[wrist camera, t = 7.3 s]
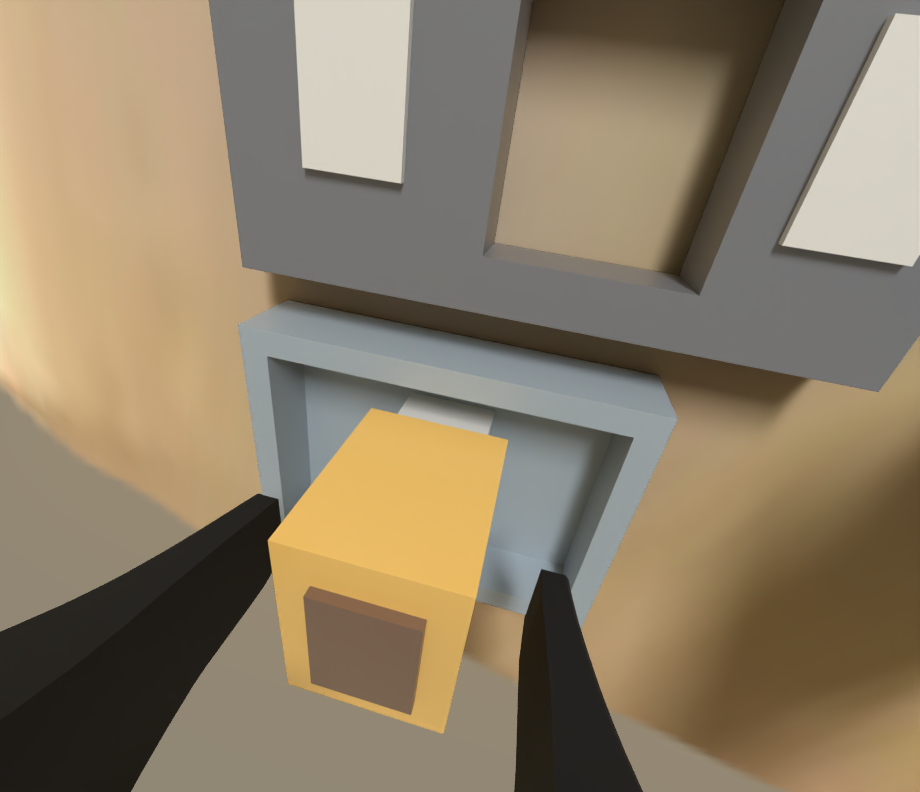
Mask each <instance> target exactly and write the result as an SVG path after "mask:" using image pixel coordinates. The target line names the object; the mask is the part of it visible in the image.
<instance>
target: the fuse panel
mask: <svg viewBox="0 0 920 792" xmlns="http://www.w3.org/2000/svg"><path fill="white" fill-rule="evenodd" d="M209 6H210V14H211V22H212V30H213V38H214V46H215V54H216V61H217V69H218V77H219V85H220V93H221V101H222V109H223V117H224V124H225V132H226V140H227V148H228V156H229V164H230V172H231V179H232V187H233V195H234V203H235V211H236V219H237V227H238V234H239V242H240V250H241V258H242V266H243V267H245V268H250V269H255V270H260V271H265V272H270V273H275V274H280V275H285V276H290V277H295V278H301V279H306V280H311V281H316V282H321V283H326V284H331V285H336V286H341V287H346V288H351V289H357V290H362V291H367V292H372V293H377V294H382V295H387V296H392V297H397V298H402V299H407V300H412V301H418V302H423V303H428V304H433V305H438V306H443V307H448V308H453V309H458V310H463V311H468V312H474V313H479V314H484V315H489V316H494V317H499V318H504V319H509V320H514V321H519V322H524V323H530V324H535V325H540V326H545V327H550V328H555V329H560V330H565V331H570V332H575V333H580V334H586V335H591V336H596V337H601V338H606V339H611V340H616V341H621V342H626V343H631V344H636V345H641V346H647V347H652V348H657V349H662V350H667V351H672V352H677V353H682V354H687V355H692V356H697V357H703V358H708V359H713V360H718V361H723V362H728V363H733V364H738V365H743V366H748V367H753V368H759V369H764V370H769V371H774V372H779V373H784V374H789V375H794V376H799V377H804V378H809V379H814V380H820V381H825V382H830V383H835V384H840V385H845V386H850V387H855V388H860V389H865V390H870V391H876V392H879V391H880V389H881V388H882V387H883V385H884V384H885V382H886V381H887V380H888V378H889V377H890V375H891V374H892V373H893V371H894V370H895V368H896V367H897V366H898V364H899V363H900V362H901V360H902V359H903V357H904V356H905V355H906V353H907V352H908V350H909V349H910V348H911V346H912V345H913V343H914V342H915V341H916V339H917V338H918V337H919V335H920V0H785V2H784V4H783V7H782V10H781V12H780V15H779V17H778V20H777V23H776V25H775V28H774V30H773V33H772V36H771V38H770V41H769V43H768V46H767V49H766V51H765V54H764V56H763V59H762V61H761V64H760V67H759V69H758V72H757V74H756V77H755V80H754V82H753V85H752V87H751V90H750V93H749V95H748V98H747V100H746V103H745V106H744V108H743V111H742V113H741V116H740V118H739V121H738V124H737V126H736V129H735V131H734V134H733V137H732V139H731V142H730V144H729V147H728V150H727V152H726V155H725V157H724V160H723V163H722V165H721V168H720V170H719V173H718V176H717V178H716V181H715V183H714V186H713V188H712V191H711V194H710V196H709V199H708V201H707V204H706V207H705V209H704V212H703V214H702V217H701V220H700V222H699V225H698V227H697V230H696V233H695V235H694V238H693V240H692V243H691V245H690V248H689V251H688V253H687V256H686V258H685V261H684V264H683V266H682V269H681V271H680V274H679V275H674V274H668V273H663V272H657V271H651V270H646V269H640V268H634V267H628V266H623V265H617V264H611V263H606V262H600V261H594V260H588V259H583V258H577V257H571V256H566V255H560V254H554V253H549V252H543V251H537V250H531V249H526V248H520V247H514V246H509V245H503V244H497V243H494V241H495V235H496V229H497V223H498V216H499V210H500V204H501V198H502V192H503V185H504V179H505V173H506V167H507V161H508V155H509V148H510V142H511V136H512V130H513V124H514V118H515V111H516V105H517V99H518V93H519V87H520V80H521V74H522V68H523V62H524V56H525V50H526V43H527V37H528V31H529V25H530V19H531V12H532V6H533V0H209Z"/></svg>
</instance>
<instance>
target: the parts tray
mask: <svg viewBox="0 0 920 792" xmlns="http://www.w3.org/2000/svg"><path fill="white" fill-rule="evenodd" d="M238 328H239V335H240V342H241V349H242V356H243V363H244V370H245V377H246V384H247V391H248V399H249V406H250V413H251V420H252V427H253V434H254V441H255V448H256V455H257V462H258V469H259V476H260V483H261V490H262V495H265V496H269V497H273V498H277V499H278V500H279V508H280V517H281V523H282V521H283V520H284V519H285V518H286V516H287V515H288V514H289V513H290V511H291V510H292V509H293V507H294V506H295V505H296V504H297V502H298V501H299V500H300V499H301V497H302V496H303V495H304V493H305V492H306V491H307V490H308V488H309V487H310V486H311V485H312V483H313V482H314V481H315V479H316V478H317V477H318V476H319V474H320V473H321V472H322V470H323V469H324V468H325V467H326V465H327V464H328V463H329V462H330V460H331V459H332V458H333V456H334V455H335V454H336V453H337V451H338V450H339V449H340V448H341V446H342V445H343V444H344V442H345V441H346V440H347V439H348V437H349V436H350V435H351V434H352V432H353V431H354V430H355V428H356V427H357V426H358V425H359V423H360V422H361V421H362V420H363V418H364V417H365V416H366V414H367V413H368V412H369V411H370V409H371V408H374V409H378V410H382V411H387V412H391V413H395V414H398V412H399V411H400V409H401V408H402V406H403V405H404V403H405V402H406V400H407V399H408V397H409V396H410V394H411V393H412V392H413V393H417V394H422V395H426V396H431V397H435V398H440V399H444V400H449V401H453V402H457V403H462V404H466V405H471V406H475V407H480V408H484V409H488V410H493V411H495V412H494V417H493V422H492V427H491V432H490V436H494V437H498V438H503V439H507V440H508V444H507V448H506V453H505V458H504V463H503V468H502V473H501V478H500V483H499V488H498V493H497V498H496V503H495V508H494V512H493V517H492V522H491V527H490V532H489V537H488V542H487V547H486V552H485V557H484V562H483V567H482V571H481V576H480V581H479V586H478V591H477V596H476V601H478V602H481V603H485V604H488V605H492V606H495V607H499V608H503V609H506V610H510V611H513V612H517V613H520V614H524V615H526V612H527V609H528V606H529V603H530V600H531V597H532V595H533V592H534V589H535V586H536V583H537V580H538V577H539V574H540V571H541V569H544V570H548V571H551V572H555V573H559V574H563V575H566V577H567V578H568V579H569V584H570V589H571V593H572V598H573V602H574V606H575V610H576V614H577V618H578V621H579V625H580V628H581V627H582V625H583V623H584V621H585V619H586V616H587V614H588V612H589V610H590V608H591V606H592V603H593V601H594V599H595V597H596V595H597V593H598V590H599V588H600V586H601V584H602V582H603V580H604V577H605V575H606V573H607V571H608V569H609V567H610V565H611V562H612V560H613V558H614V556H615V554H616V552H617V549H618V547H619V545H620V543H621V541H622V539H623V536H624V534H625V532H626V530H627V528H628V526H629V524H630V521H631V519H632V517H633V515H634V513H635V511H636V508H637V506H638V504H639V502H640V500H641V498H642V495H643V493H644V491H645V489H646V487H647V485H648V482H649V480H650V478H651V476H652V474H653V472H654V470H655V467H656V465H657V463H658V461H659V459H660V457H661V454H662V452H663V450H664V448H665V446H666V444H667V441H668V439H669V437H670V435H671V433H672V431H673V428H674V426H675V424H676V422H677V420H678V418H677V416H676V414H675V411H674V409H673V407H672V405H671V402H670V400H669V398H668V395H667V393H666V391H665V389H664V386H663V384H662V382H661V380H660V377H659V376H658V375H653V374H648V373H643V372H639V371H634V370H629V369H624V368H619V367H614V366H609V365H604V364H599V363H594V362H590V361H585V360H580V359H575V358H570V357H565V356H560V355H555V354H550V353H545V352H540V351H536V350H531V349H526V348H521V347H516V346H511V345H506V344H501V343H496V342H491V341H487V340H482V339H477V338H472V337H467V336H462V335H457V334H452V333H447V332H442V331H437V330H433V329H428V328H423V327H418V326H413V325H408V324H403V323H398V322H393V321H388V320H384V319H379V318H374V317H369V316H364V315H359V314H354V313H349V312H344V311H339V310H334V309H330V308H325V307H320V306H315V305H310V304H305V303H300V302H295V301H290V300H286V301H284V302H282V303H280V304H278V305H276V306H274V307H272V308H270V309H268V310H266V311H264V312H262V313H260V314H258V315H256V316H254V317H252V318H250V319H248V320H246V321H244V322H242V323H240V324H238Z"/></svg>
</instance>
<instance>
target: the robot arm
mask: <svg viewBox="0 0 920 792" xmlns="http://www.w3.org/2000/svg"><path fill="white" fill-rule="evenodd" d="M280 524H281V517H280V508H279V500H278V499H277V498H273V497H269V496H265V495H262V494H257V495H255V496H253V497H252V498H250V499H248V500H247V501H245V502H244V503H242V504H240V505H239V506H237V507H236V508H234V509H232V510H231V511H229V512H228V513H226V514H224V515H223V516H221V517H220V518H218V519H217V520H215V521H213V522H212V523H210V524H209V525H207V526H205V527H204V528H202V529H201V530H199V531H197V532H196V533H194V534H192V535H191V536H189V537H187V538H186V539H184V540H183V541H181V542H179V543H178V544H176V545H174V546H173V547H171V548H170V549H168V550H166V551H164V552H162V553H161V554H159V555H157V556H155V557H154V558H152V559H150V560H148V561H147V562H145V563H143V564H141V565H139V566H138V567H136V568H134V569H132V570H130V571H129V572H127V573H125V574H123V575H122V576H119V577H118V578H116V579H114V580H112V581H110V582H108V583H106V584H104V585H102V586H100V587H98V588H96V589H94V590H92V591H90V592H88V593H86V594H84V595H82V596H80V597H78V598H76V599H74V600H71V601H69V602H67V603H65V604H63V605H61V606H58V607H56V608H54V609H52V610H49V611H47V612H45V613H43V614H40V615H38V616H36V617H33V618H31V619H29V620H26V621H24V622H22V623H20V624H18V625H15V626H13V627H11V628H8V629H6V630H3V631H1V632H0V792H131V790H132V789H133V787H134V785H135V783H136V781H137V780H138V778H139V776H140V774H141V772H142V771H143V769H144V767H145V765H146V764H147V762H148V760H149V758H150V757H151V755H152V753H153V751H154V750H155V748H156V746H157V745H158V743H159V741H160V740H161V738H162V736H163V734H164V733H165V731H166V729H167V727H168V726H169V724H170V723H171V721H172V719H173V717H174V716H175V714H176V713H177V711H178V709H179V708H180V706H181V704H182V703H183V701H184V700H185V698H186V696H187V695H188V693H189V691H190V690H191V688H192V686H193V685H194V683H195V682H196V680H197V679H198V677H199V676H200V674H201V673H202V672H203V670H204V668H205V667H206V665H207V664H208V663H209V662H210V660H211V659H212V657H213V656H214V655H215V653H216V652H217V651H218V649H219V648H220V646H221V645H222V644H223V642H224V641H225V640H226V638H227V637H228V635H229V634H230V633H231V631H232V630H233V629H234V627H235V626H236V624H237V623H238V622H239V620H240V619H241V618H242V616H243V615H244V614H245V612H246V611H247V609H248V608H249V607H250V605H251V604H252V602H253V601H254V600H255V598H256V597H257V595H258V594H259V593H260V591H261V590H262V588H263V587H264V585H265V584H266V582H267V580H268V579H269V577H270V575H271V573H272V567H271V560H270V553H269V546H268V539H269V538H270V537H271V535H272V534H273V533H274V532H275V530H276V529H277V528H278V527H279V525H280ZM516 749H517V750H516V774H515V790H514V792H643V791H642V789H641V786H640V784H639V782H638V780H637V778H636V775H635V773H634V771H633V769H632V766H631V764H630V762H629V760H628V757H627V755H626V753H625V751H624V748H623V746H622V743H621V741H620V739H619V736H618V734H617V731H616V729H615V726H614V724H613V721H612V719H611V716H610V713H609V711H608V708H607V706H606V703H605V700H604V698H603V695H602V692H601V689H600V687H599V684H598V681H597V678H596V675H595V672H594V669H593V666H592V663H591V660H590V657H589V654H588V651H587V648H586V645H585V642H584V638H583V635H582V632H581V628H580V625H579V621H578V618H577V614H576V610H575V606H574V602H573V598H572V593H571V589H570V584H569V579H568V578H567V577H566V575H563V574H559V573H555V572H551V571H548V570H544V569H541V571H540V574H539V577H538V580H537V583H536V586H535V589H534V592H533V595H532V597H531V600H530V603H529V606H528V609H527V612H526V615H525V619H524V626H523V634H522V642H521V650H520V658H519V682H518V714H517V748H516Z"/></svg>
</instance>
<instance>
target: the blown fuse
mask: <svg viewBox="0 0 920 792" xmlns="http://www.w3.org/2000/svg"><path fill="white" fill-rule="evenodd" d="M494 412H495V411H493V410H488V409H484V408H480V407H475V406H471V405H466V404H462V403H457V402H453V401H449V400H444V399H440V398H435V397H431V396H426V395H422V394H417V393H413V392H412V393H411V394H410V396H409V397H408V399H407V400H406V402H405V403H404V405H403V406H402V408H401V409H400V411H399V412H398V414H395V413H391V412H387V411H382V410H378V409H374V408H371V409H370V411H369V412H368V413H367V414H366V416H365V417H364V418H363V420H362V421H361V422H360V423H359V425H358V426H357V427H356V428H355V430H354V431H353V432H352V434H351V435H350V436H349V437H348V439H347V440H346V441H345V442H344V444H343V445H342V446H341V448H340V449H339V450H338V451H337V453H336V454H335V455H334V456H333V458H332V459H331V460H330V462H329V463H328V464H327V465H326V467H325V468H324V469H323V470H322V472H321V473H320V474H319V476H318V477H317V478H316V479H315V481H314V482H313V483H312V485H311V486H310V487H309V488H308V490H307V491H306V492H305V493H304V495H303V496H302V497H301V499H300V500H299V501H298V502H297V504H296V505H295V506H294V507H293V509H292V510H291V511H290V513H289V514H288V515H287V516H286V518H285V519H284V520H283V521H282V523H281V524H280V525H279V527H278V528H277V529H276V530H275V532H274V533H273V534H272V535H271V537H270V538H269V539H268V546H269V553H270V560H271V567H272V574H273V581H274V588H275V595H276V602H277V610H278V617H279V623H280V631H281V638H282V645H283V652H284V659H285V666H286V673H287V680H288V684H290V685H293V686H296V687H299V688H302V689H305V690H308V691H311V692H315V693H317V694H321V695H324V696H327V697H330V698H333V699H336V700H339V701H342V702H346V703H349V704H352V705H355V706H358V707H361V708H364V709H367V710H370V711H373V712H377V713H380V714H383V715H386V716H389V717H392V718H395V719H398V720H402V721H405V722H408V723H411V724H414V725H417V726H420V727H423V728H426V729H429V730H433V731H435V732H439V733H442V734H444V730H445V726H446V722H447V717H448V713H449V709H450V705H451V700H452V697H453V692H454V688H455V684H456V680H457V676H458V671H459V667H460V663H461V659H462V655H463V651H464V647H465V642H466V638H467V634H468V630H469V626H470V622H471V617H472V613H473V609H474V605H475V601H476V596H477V591H478V586H479V581H480V576H481V571H482V567H483V562H484V557H485V552H486V547H487V542H488V537H489V532H490V527H491V522H492V517H493V512H494V508H495V503H496V498H497V493H498V488H499V483H500V478H501V473H502V468H503V463H504V458H505V453H506V448H507V444H508V440H507V439H503V438H498V437H494V436H490V432H491V427H492V422H493V417H494Z"/></svg>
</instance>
